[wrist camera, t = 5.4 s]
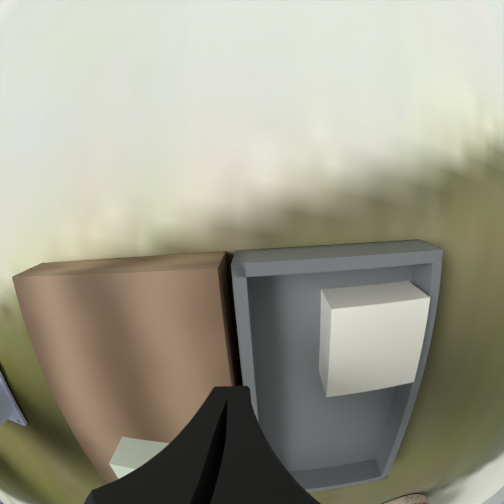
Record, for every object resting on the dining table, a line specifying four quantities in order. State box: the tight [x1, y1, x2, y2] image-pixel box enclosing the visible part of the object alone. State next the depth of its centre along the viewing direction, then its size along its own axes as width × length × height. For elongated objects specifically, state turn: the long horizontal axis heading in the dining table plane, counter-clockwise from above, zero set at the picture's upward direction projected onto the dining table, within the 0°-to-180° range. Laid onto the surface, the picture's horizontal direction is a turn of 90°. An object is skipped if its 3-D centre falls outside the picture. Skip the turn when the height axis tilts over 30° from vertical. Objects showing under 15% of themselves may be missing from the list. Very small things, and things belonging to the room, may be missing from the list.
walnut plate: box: [12, 251, 240, 483], centre depth 16 cm, size 12×18×3 cm, turn 4°
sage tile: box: [109, 437, 169, 479], centre depth 14 cm, size 5×5×2 cm
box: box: [231, 240, 443, 493], centre depth 16 cm, size 10×18×2 cm, turn 4°
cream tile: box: [319, 281, 430, 397], centre depth 14 cm, size 5×5×2 cm
